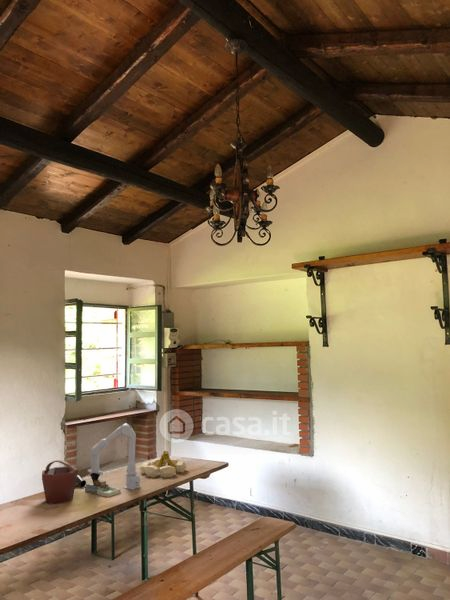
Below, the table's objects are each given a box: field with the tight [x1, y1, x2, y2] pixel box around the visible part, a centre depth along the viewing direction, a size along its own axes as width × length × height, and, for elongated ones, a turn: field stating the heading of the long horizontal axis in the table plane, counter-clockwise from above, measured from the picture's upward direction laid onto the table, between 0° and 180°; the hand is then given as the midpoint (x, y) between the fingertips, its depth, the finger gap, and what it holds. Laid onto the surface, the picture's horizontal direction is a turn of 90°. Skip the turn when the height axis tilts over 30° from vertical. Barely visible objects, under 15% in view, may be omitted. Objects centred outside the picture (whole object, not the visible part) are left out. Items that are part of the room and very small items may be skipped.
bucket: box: [41, 459, 79, 505], centre depth 306 cm, size 24×22×25 cm
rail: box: [84, 482, 110, 495], centre depth 323 cm, size 14×10×4 cm
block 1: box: [94, 479, 103, 486], centre depth 323 cm, size 4×4×4 cm
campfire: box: [139, 450, 188, 478], centre depth 369 cm, size 35×34×17 cm
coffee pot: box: [75, 474, 87, 488], centre depth 332 cm, size 8×18×8 cm
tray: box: [96, 486, 121, 498], centre depth 316 cm, size 11×11×2 cm
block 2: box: [98, 479, 107, 489], centre depth 321 cm, size 4×4×4 cm
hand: (95, 484), depth 325 cm, fingers closed
